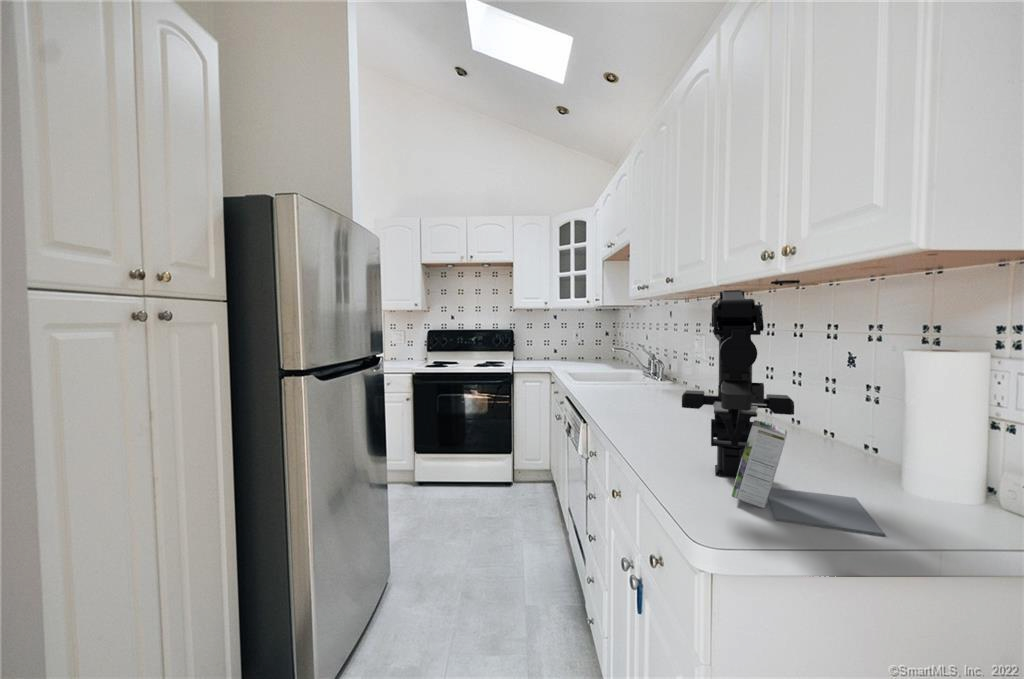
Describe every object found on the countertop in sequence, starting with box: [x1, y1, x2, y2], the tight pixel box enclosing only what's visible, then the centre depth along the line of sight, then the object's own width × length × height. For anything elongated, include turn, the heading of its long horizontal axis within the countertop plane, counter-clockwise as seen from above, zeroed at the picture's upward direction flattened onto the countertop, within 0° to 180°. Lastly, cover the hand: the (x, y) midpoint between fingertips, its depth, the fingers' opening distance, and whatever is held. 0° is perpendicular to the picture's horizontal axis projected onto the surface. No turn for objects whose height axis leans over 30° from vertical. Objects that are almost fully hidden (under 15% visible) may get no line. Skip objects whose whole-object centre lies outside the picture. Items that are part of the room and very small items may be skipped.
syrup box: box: [731, 419, 788, 509], centre depth 84 cm, size 6×6×14 cm
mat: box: [768, 487, 886, 537], centre depth 81 cm, size 16×15×1 cm
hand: (734, 446), depth 86 cm, fingers closed
